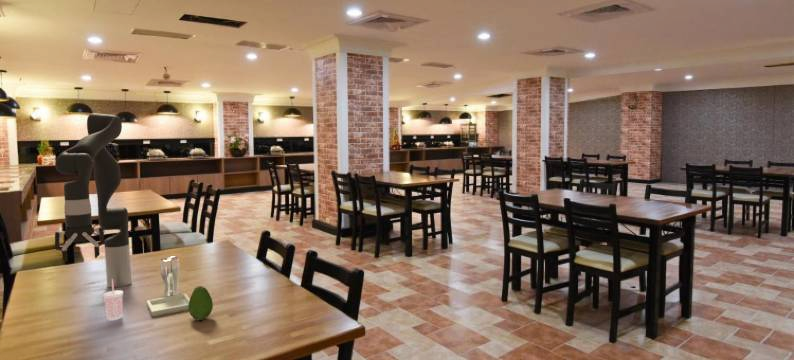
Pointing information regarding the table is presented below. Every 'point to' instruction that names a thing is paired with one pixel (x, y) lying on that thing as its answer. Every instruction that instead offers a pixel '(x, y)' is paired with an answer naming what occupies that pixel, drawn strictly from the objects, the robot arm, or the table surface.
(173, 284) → the metal tumbler
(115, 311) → the beverage cup
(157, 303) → the tray
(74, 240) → the robot arm
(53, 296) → the table surface
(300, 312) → the table surface
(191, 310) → the avocado
